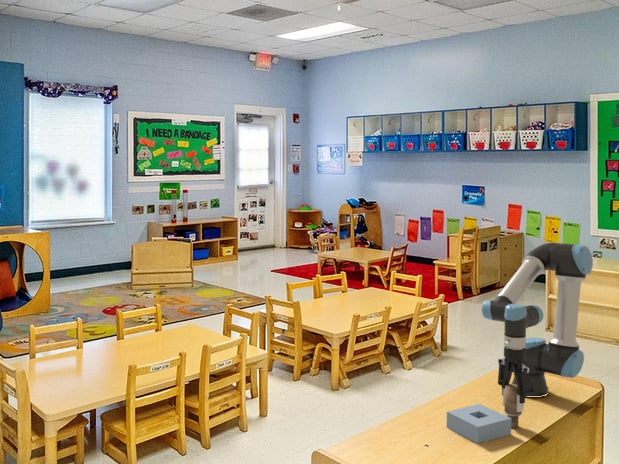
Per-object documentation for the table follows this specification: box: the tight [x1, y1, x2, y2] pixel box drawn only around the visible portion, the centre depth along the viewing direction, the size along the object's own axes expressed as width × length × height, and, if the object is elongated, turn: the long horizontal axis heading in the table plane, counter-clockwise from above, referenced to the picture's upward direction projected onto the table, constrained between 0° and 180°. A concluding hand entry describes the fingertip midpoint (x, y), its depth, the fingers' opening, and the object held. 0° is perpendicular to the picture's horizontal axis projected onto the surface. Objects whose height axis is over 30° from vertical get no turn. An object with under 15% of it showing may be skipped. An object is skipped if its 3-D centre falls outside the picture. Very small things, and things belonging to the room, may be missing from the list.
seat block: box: [446, 403, 512, 445], centre depth 225 cm, size 16×16×6 cm
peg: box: [503, 383, 523, 429], centre depth 228 cm, size 6×6×15 cm
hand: (513, 408), depth 228 cm, fingers closed on peg, 6 cm apart
